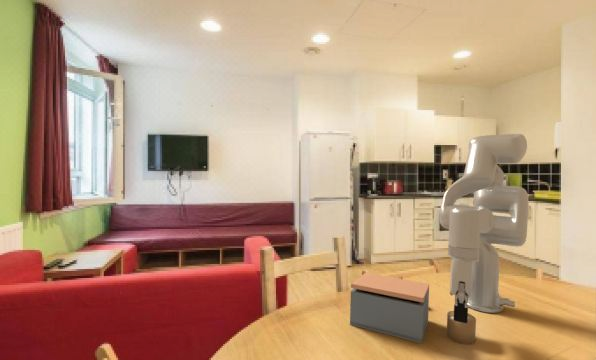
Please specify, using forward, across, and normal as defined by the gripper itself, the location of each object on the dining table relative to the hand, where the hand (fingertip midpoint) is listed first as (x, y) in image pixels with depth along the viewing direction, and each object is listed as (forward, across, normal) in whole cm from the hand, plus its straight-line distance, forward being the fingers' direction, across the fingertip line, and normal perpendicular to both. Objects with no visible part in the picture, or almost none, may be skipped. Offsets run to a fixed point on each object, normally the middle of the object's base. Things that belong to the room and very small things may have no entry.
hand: (460, 314), depth 85 cm
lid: (-4, +1, -19) cm, 19 cm away
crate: (+7, 0, -19) cm, 20 cm away
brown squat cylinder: (+7, -1, 0) cm, 7 cm away
